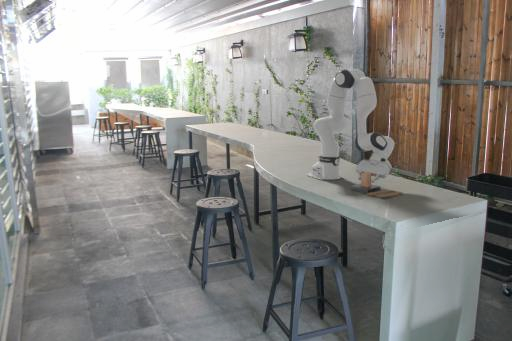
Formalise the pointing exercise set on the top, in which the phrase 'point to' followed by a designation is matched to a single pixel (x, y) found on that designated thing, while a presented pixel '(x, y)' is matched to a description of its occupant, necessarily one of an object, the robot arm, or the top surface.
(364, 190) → the socket
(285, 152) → the top surface
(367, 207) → the top surface
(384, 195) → the board
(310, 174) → the robot arm
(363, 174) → the peg
